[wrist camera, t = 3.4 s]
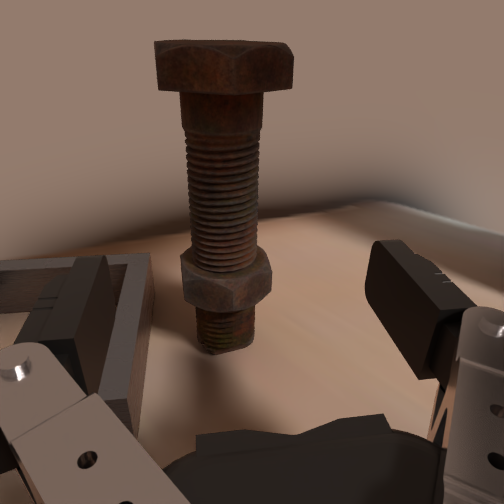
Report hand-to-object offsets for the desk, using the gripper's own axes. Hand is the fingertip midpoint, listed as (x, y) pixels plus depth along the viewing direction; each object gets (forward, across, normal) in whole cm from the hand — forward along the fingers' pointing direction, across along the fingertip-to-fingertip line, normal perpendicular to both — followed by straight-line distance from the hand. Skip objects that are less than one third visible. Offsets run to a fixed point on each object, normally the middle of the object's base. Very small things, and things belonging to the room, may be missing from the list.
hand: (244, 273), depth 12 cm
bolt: (+7, 0, +9) cm, 12 cm away
